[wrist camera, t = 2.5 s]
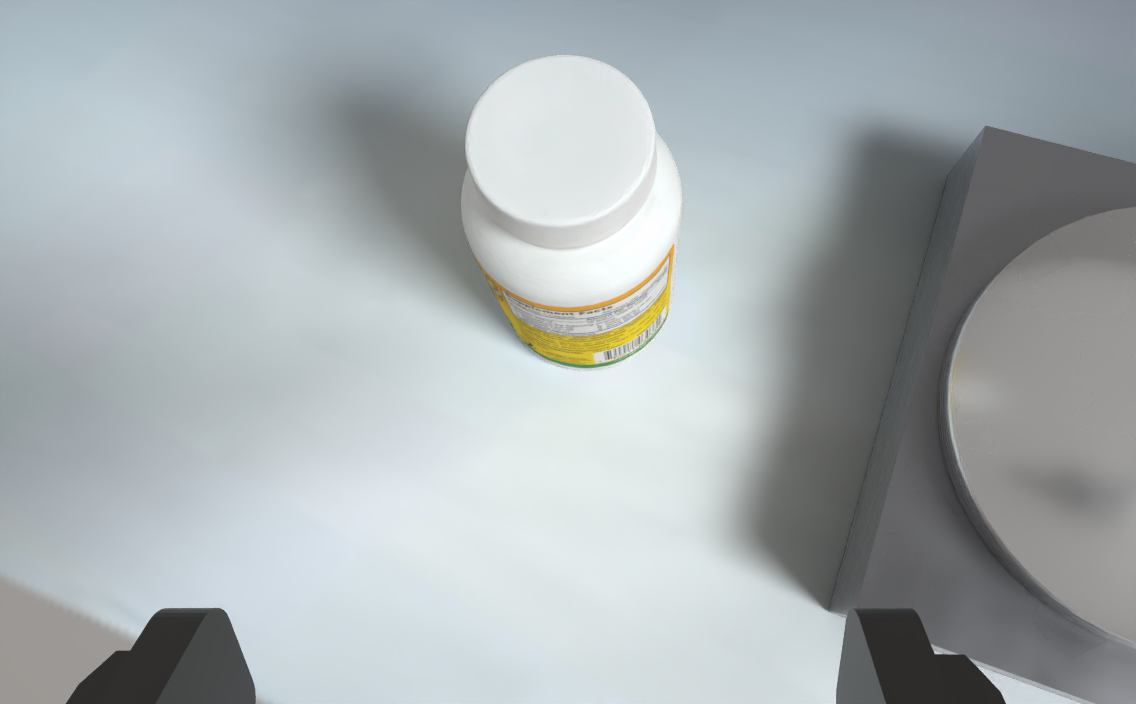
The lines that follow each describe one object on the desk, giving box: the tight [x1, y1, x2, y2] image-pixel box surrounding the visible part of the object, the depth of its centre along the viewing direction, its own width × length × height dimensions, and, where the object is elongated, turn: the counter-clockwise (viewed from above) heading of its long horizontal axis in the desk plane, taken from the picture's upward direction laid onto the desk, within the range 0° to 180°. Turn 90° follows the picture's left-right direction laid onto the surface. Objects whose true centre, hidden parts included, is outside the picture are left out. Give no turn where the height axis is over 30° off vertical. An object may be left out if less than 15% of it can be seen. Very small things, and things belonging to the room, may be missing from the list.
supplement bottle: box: [461, 55, 682, 371], centre depth 22 cm, size 5×5×10 cm
